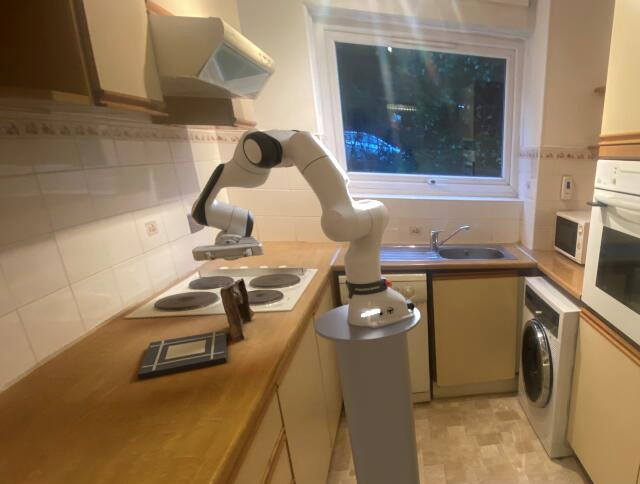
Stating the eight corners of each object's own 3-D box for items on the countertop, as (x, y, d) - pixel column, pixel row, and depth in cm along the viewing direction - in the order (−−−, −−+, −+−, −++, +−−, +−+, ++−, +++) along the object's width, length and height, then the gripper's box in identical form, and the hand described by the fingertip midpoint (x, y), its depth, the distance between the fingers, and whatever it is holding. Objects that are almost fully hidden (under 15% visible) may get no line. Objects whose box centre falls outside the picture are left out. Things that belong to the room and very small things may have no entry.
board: (227, 334, 129) (226, 329, 128) (226, 362, 113) (225, 356, 112) (151, 347, 120) (149, 341, 120) (139, 379, 105) (137, 373, 104)
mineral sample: (244, 340, 125) (231, 290, 120) (228, 342, 124) (214, 292, 118) (256, 318, 140) (245, 273, 134) (242, 320, 139) (230, 274, 133)
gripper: (191, 241, 146) (187, 250, 135) (260, 235, 156) (262, 243, 145) (196, 259, 148) (193, 269, 138) (263, 253, 158) (265, 262, 147)
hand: (229, 256), depth 141 cm, fingers open, 8 cm apart
